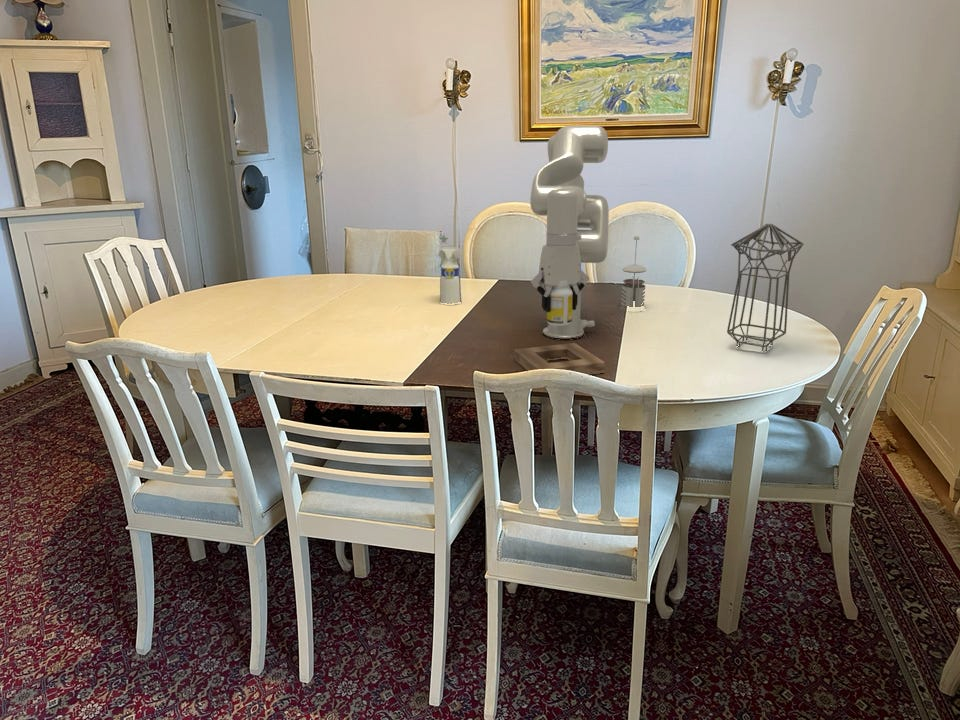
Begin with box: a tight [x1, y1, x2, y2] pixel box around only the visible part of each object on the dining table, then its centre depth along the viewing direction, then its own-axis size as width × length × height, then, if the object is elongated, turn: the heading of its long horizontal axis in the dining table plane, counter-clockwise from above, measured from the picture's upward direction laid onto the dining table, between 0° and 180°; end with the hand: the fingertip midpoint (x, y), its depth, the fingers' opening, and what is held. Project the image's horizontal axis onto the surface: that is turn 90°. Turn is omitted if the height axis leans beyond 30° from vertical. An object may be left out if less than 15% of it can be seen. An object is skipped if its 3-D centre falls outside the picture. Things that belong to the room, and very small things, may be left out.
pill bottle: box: [546, 280, 573, 326], centre depth 184 cm, size 6×6×12 cm
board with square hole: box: [513, 342, 606, 374], centre depth 189 cm, size 18×18×3 cm
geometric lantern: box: [726, 223, 804, 352], centre depth 198 cm, size 16×16×35 cm
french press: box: [620, 235, 647, 307], centre depth 242 cm, size 10×12×25 cm
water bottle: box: [437, 234, 464, 304], centre depth 253 cm, size 8×9×25 cm
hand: (559, 309), depth 184 cm, fingers closed on pill bottle, 6 cm apart
